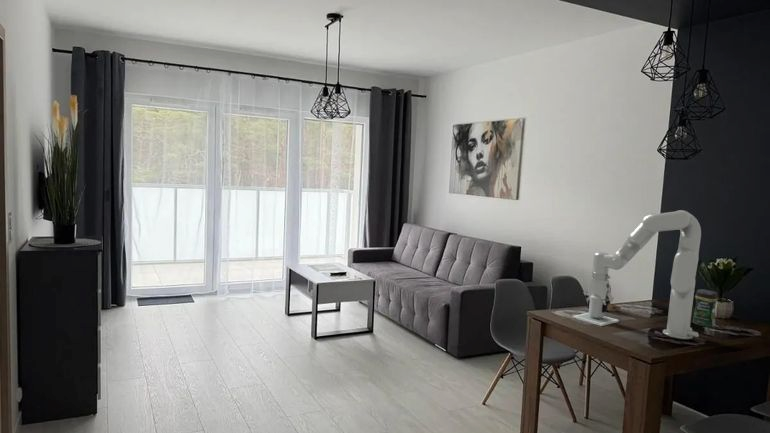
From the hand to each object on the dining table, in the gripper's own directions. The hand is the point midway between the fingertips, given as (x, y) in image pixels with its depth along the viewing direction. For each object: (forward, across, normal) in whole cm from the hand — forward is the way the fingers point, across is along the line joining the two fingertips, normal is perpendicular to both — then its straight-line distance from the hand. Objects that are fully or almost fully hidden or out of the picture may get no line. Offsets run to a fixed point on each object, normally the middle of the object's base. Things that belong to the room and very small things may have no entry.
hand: (596, 310), depth 274 cm
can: (+4, 0, 0) cm, 4 cm away
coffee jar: (+6, -33, -46) cm, 57 cm away
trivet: (+5, 0, 0) cm, 5 cm away
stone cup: (+5, +11, -25) cm, 28 cm away
